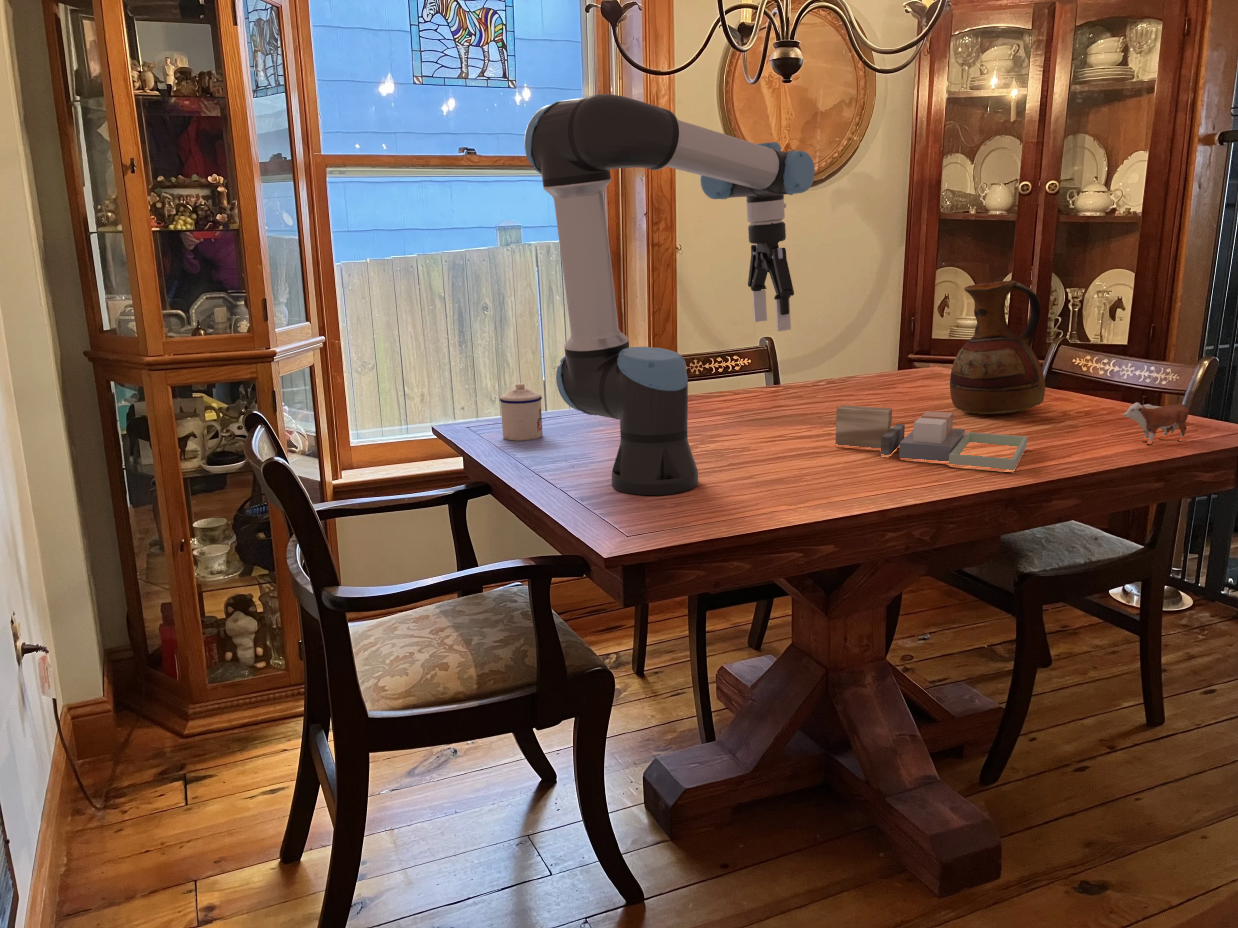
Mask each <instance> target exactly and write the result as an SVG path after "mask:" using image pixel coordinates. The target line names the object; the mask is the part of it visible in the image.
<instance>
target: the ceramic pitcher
mask: <svg viewBox="0 0 1238 928" xmlns="http://www.w3.org/2000/svg"><path fill="white" fill-rule="evenodd" d="M963 290H964V291H965V292H966V293H967V294H968V295H970V297H971V298H972V299H973V302H974V311H973V313H974V314H973V315H974V318H975V319H976V325H975V329H974V334H973V335H972V337H971V338H969V340H967V341H966V342H965V343H964V344H963V346H962V347H961V349H959V351H958V353H957V354H956V357H955V358H954V361H953V364H952V367H951V372H950V377H949V391H950V392H949V393H950V399H951V401H952V405H953V407H955V408H956V409H958V410H959V411H962V412H965V411H966V413H970V412H971V414H975V413H978V414H977V415H996V414H997V415H999V414H1000V415H1001V413H1002V414H1009V413H1011V414H1012V413H1015V412H1020V411H1024V410H1027V409H1032V408H1034V407H1036V406H1040V405H1041V404H1042V403H1043V402H1044V399H1045V393H1046V381H1045V375H1044V371H1043V368H1042V365H1041V363H1040V360H1039V358H1038V357H1037V355H1036V353H1035V352H1034V351H1033V348H1032V344H1033V341H1034V337H1035V334H1036V331H1037V328H1038V325H1039V323H1040V319H1041V311H1042V310H1041V308H1042V307H1041V302H1040V299H1039V297H1038V295H1037V294H1036V292H1035V291H1033V289H1031V288H1030V287H1028V286H1026V285H1025V284H1022V283H1021V282H1017V281H1016V280H1012V279H1010V280H1000V281H993V282H983V283H978V284H977V283H976V284H971V285H967V286H965V287H963ZM1015 291H1018V292H1022V293H1024V294H1026V296H1027V298H1028V300H1029V304H1030V305H1029V306H1030V316H1029V319H1028V323H1027V325H1026V327H1025V329H1024V331H1023V332H1022V333H1021V334H1020V335H1018V334H1017V333H1014V332H1013V331H1011V329H1010V327H1009V326H1008V322H1007V318H1006V308H1005V307H1006V300H1007V297H1008V295H1009V294H1010V293H1012V292H1015Z"/></svg>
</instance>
